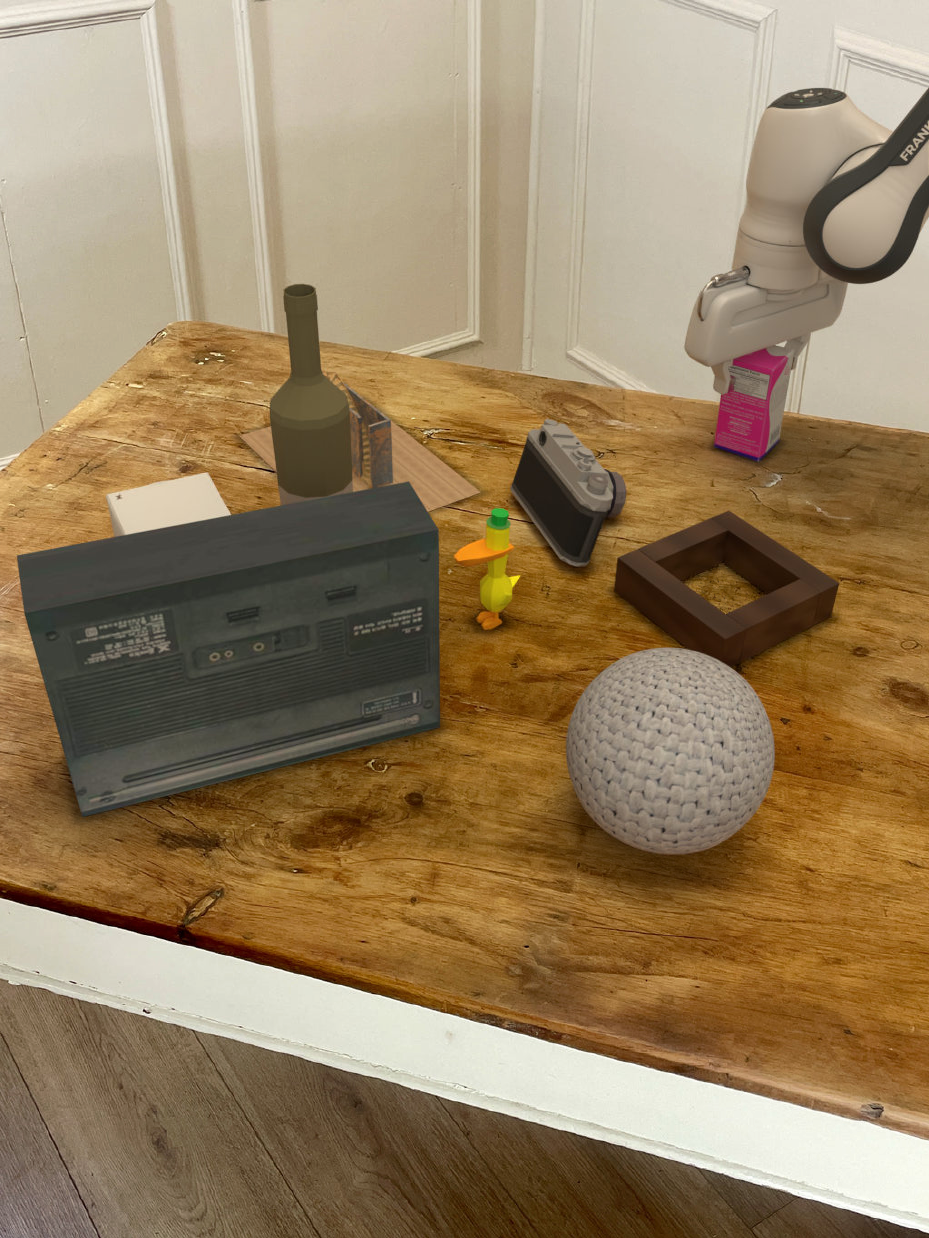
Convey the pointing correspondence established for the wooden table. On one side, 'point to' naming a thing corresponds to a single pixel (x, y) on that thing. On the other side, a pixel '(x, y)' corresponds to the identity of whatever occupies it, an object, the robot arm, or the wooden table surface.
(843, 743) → the wooden table surface
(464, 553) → the toy figure
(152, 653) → the cassette player
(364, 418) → the architectural model on board
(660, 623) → the wooden frame
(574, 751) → the decorative ball
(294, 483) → the bottle
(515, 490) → the camera
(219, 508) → the white product box
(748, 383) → the supplement box
